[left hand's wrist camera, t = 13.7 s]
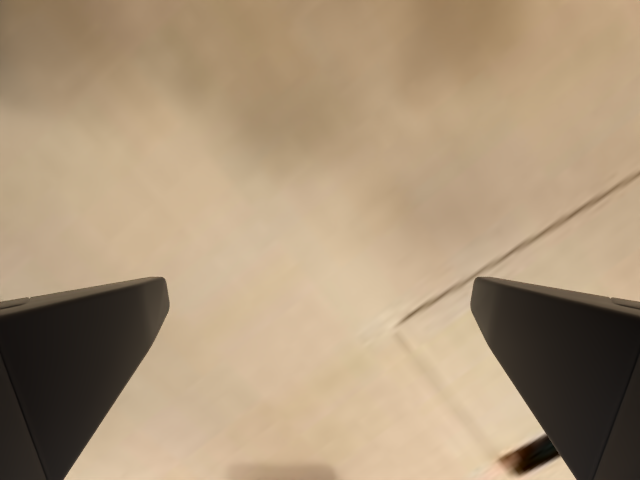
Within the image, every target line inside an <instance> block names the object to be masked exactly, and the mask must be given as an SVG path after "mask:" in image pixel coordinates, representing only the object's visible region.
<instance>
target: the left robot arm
mask: <svg viewBox="0 0 640 480" xmlns="http://www.w3.org/2000/svg"><path fill="white" fill-rule="evenodd" d="M168 311H169V297H168V290H167V284H166V281H165V279H164V278H163V277H147V278H141V279H135V280H130V281H124V282H118V283H112V284H106V285H100V286H94V287H89V288H83V289H77V290H71V291H65V292H59V293H53V294H48V295H42V296H36V297H31V298H30V299H29V298H21V299H15V300H9V301H3V302H0V480H64V478H65V477H66V475H67V474H68V472H69V470H70V469H71V467H72V466H73V464H74V463H75V461H76V460H77V458H78V457H79V455H80V454H81V452H82V451H83V449H84V448H85V446H86V445H87V443H88V442H89V440H90V439H91V437H92V436H93V434H94V433H95V431H96V430H97V428H98V427H99V425H100V424H101V422H102V420H103V419H104V417H105V416H106V414H107V413H108V411H109V410H110V408H111V407H112V405H113V404H114V402H115V401H116V399H117V398H118V396H119V395H120V393H121V392H122V390H123V389H124V387H125V386H126V384H127V383H128V381H129V380H130V378H131V377H132V375H133V374H134V372H135V371H136V369H137V367H138V366H139V364H140V363H141V361H142V360H143V358H144V357H145V355H146V354H147V352H148V351H149V349H150V347H151V346H152V344H153V342H154V340H155V338H156V336H157V334H158V332H159V330H160V328H161V326H162V324H163V322H164V320H165V318H166V315H167V313H168ZM471 311H472V313H473V315H474V318H475V320H476V322H477V324H478V326H479V328H480V330H481V332H482V334H483V336H484V338H485V340H486V342H487V344H488V346H489V347H490V349H491V351H492V352H493V354H494V355H495V357H496V358H497V360H498V361H499V363H500V364H501V366H502V367H503V369H504V370H505V372H506V374H507V375H508V377H509V378H510V380H511V381H512V383H513V384H514V386H515V387H516V389H517V390H518V392H519V393H520V395H521V396H522V398H523V399H524V401H525V402H526V404H527V405H528V407H529V408H530V410H531V411H532V413H533V414H534V416H535V417H536V419H537V420H538V422H539V423H540V425H541V426H542V428H543V430H544V431H545V433H546V434H547V436H548V437H549V439H550V440H551V442H552V443H553V445H554V446H555V448H556V449H557V451H558V452H559V454H560V455H561V457H562V458H563V460H564V461H565V463H566V464H567V466H568V467H569V469H570V470H571V472H572V473H573V475H574V477H575V478H576V480H640V302H637V301H631V300H625V299H619V298H611V299H610V298H609V297H604V296H599V295H593V294H587V293H581V292H575V291H569V290H563V289H558V288H552V287H546V286H540V285H534V284H528V283H522V282H516V281H511V280H505V279H499V278H493V277H477V278H476V279H475V281H474V284H473V290H472V297H471Z"/></svg>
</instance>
